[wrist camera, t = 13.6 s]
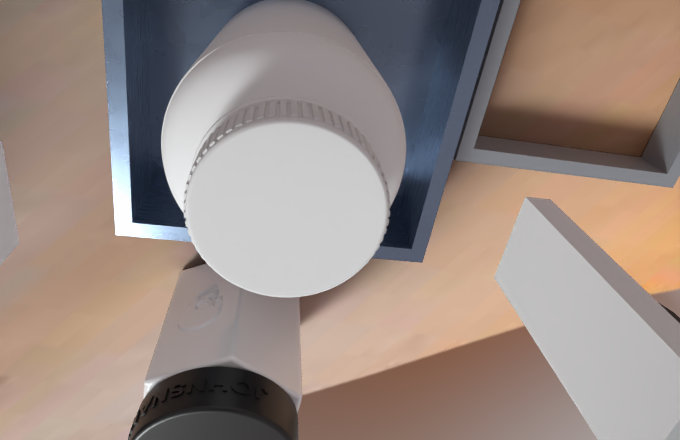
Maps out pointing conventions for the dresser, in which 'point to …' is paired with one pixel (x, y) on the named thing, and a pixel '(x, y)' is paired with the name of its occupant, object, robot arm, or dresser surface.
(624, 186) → the dresser surface
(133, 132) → the bin
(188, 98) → the pill bottle
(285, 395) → the jar
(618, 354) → the robot arm
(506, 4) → the frame
